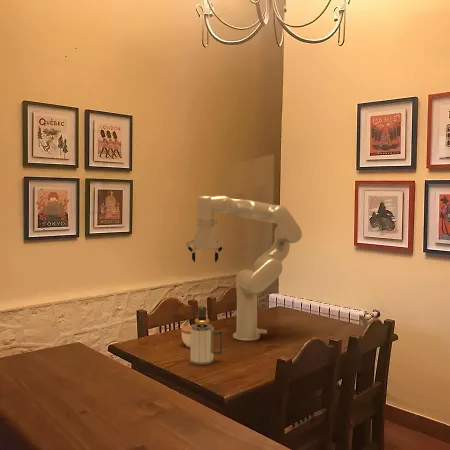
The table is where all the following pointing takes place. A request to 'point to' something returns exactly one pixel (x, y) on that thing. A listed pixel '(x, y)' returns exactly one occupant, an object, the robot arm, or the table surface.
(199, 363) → the cafetiere
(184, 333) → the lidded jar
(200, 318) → the plunger
